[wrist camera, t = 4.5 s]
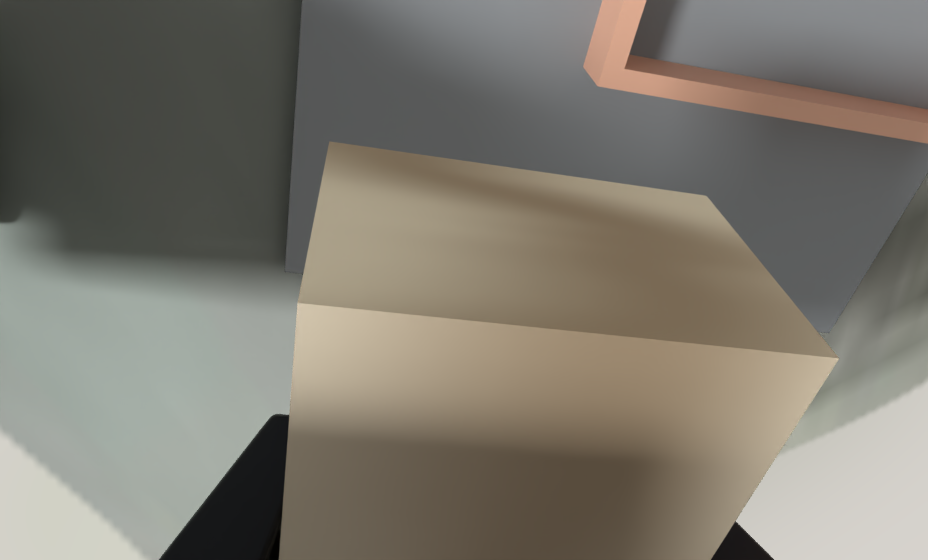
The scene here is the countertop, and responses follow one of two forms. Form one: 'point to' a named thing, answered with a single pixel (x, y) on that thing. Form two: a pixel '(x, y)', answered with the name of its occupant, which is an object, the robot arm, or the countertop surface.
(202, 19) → the countertop surface
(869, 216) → the mat
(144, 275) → the countertop surface
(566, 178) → the cream rectangular prism
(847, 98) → the frame
